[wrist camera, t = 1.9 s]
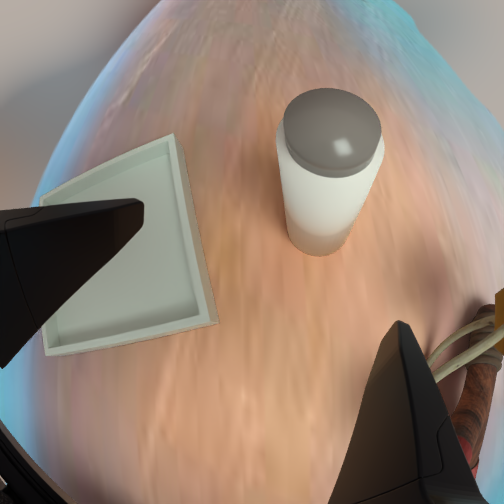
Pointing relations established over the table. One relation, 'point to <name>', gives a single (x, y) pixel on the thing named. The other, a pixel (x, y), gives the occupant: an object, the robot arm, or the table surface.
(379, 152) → the jar with lid
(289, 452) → the table surface
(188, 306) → the bin
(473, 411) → the slingshot
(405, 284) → the table surface
